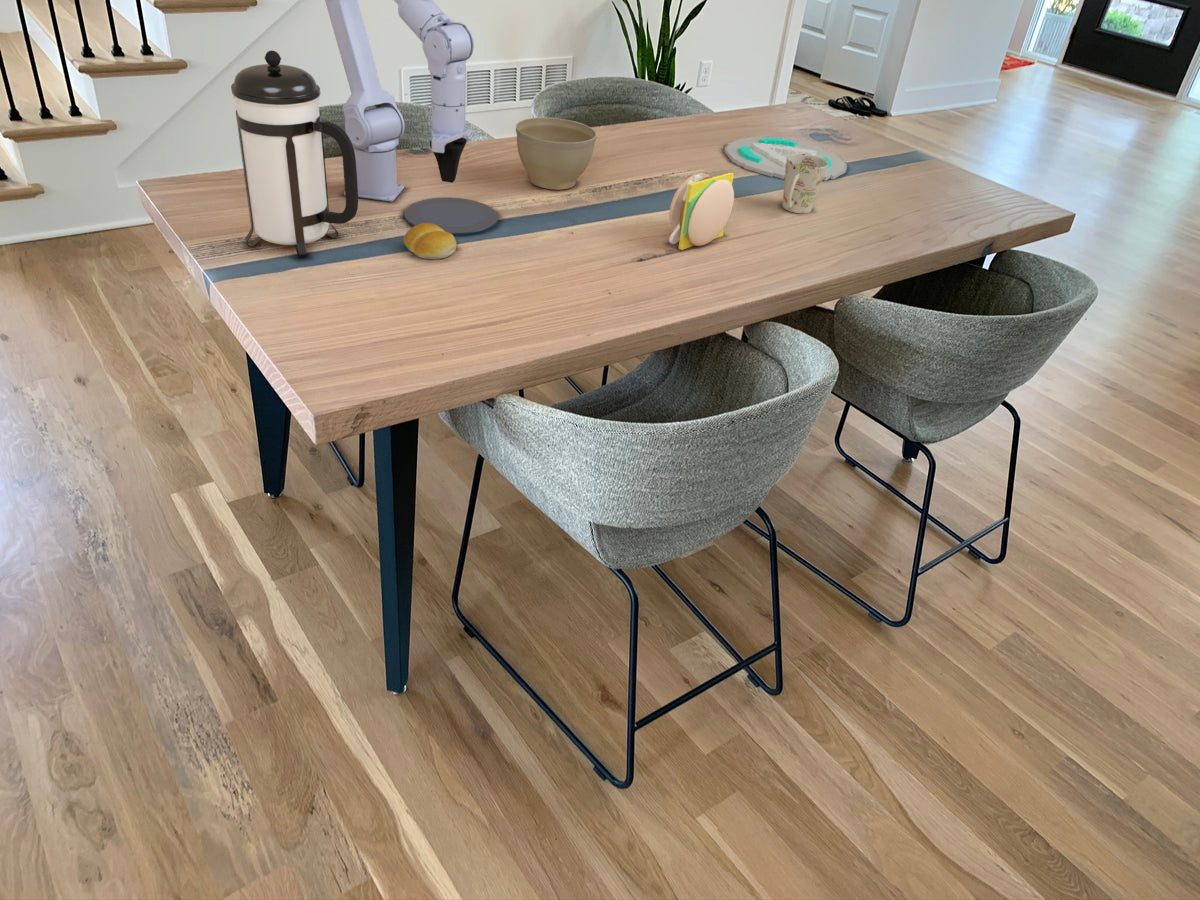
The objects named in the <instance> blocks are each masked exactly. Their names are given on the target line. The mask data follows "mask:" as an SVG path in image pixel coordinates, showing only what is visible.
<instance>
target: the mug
mask: <svg viewBox="0 0 1200 900" xmlns="http://www.w3.org/2000/svg"><path fill="white" fill-rule="evenodd" d="M827 167H828V162H827V161H826V160H824V159H822V158H820V157H817V156H813V155H808V154H791V155H789V156H788V157H787V160H786V170H785V178H784V183H783V184H784V185H783V194H782V203H781V204H782V205H781V206H782V208H783V209H784V210H786V211H788V212H791V213H795V214H809V213H811V211H812V209H813V207H814V204H815V202H816V199H817V196H818V194H819V192H820V189H821V186H822V183H823V181H824V180H823V178H824V175H825V173H826V170H827Z"/></svg>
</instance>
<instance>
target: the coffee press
mask: <svg viewBox="0 0 1200 900" xmlns="http://www.w3.org/2000/svg"><path fill="white" fill-rule="evenodd" d="M264 60H265V62H266V63H264V64H256V65H255V64H254V65H251V66H247V67H245V68H243V69H241V70H240V71H239V72H238V73H236V74H235V75H236V76H234V81H233V83H232V84H231V86H230V91H231V94H232V95H231V96H232V98H233V99H234V100H235V105H236V110H235V118H236V123H237V124H236V125H237V133H238V140H239V147H240V154H241V162H242V163H241V164H242V170H243V177H244V183H245V190H246V198H247V206H248V214H249V223H250V229H249V231H248V233H247V235H246V236H245V238H244V240H245V242H246V245H247V246H248V247H249V248H253V247H255V246H256V245H258V244H259V242H261V241H266V242H268V243H272V244H275V245H281V246H294V247H295V251H296V254H297V258H298V259H301V258H302V259H303V258H307V257H308V250H307V246H306V245H307V244H311V243H313V242H317V241H318V240H320V239H321V238H324V236H325V235H326V236H328V237H329V238H331V239H336V238H337V237H338V236H339V232H338V230H337V228H336V227H335V226H334V225H343V224H347V223H349V222H350V221H351V220H353V219H354V218H355V216H356V214H357V212H358V209H359V197H358V184H357V169H356V159H355V152H354V148H353V145H352V142H351V140H350V138H349V137H348V135H347V134H346V131H345V129H343V128H342V127H340V125H338V124H335V123H333V122H330V121H328V120H327V121H322V112H321V110H320V102H319V99H320V96H321V87H320V85H318V84H317V83H316V80H315V78H314V77H313V76H312V75H311V73H309V72H307V71H306V70H304V69H302V68H299V67H296V66H292V65H287V64H281V60H282V57H281V55H280V54H279V52H277V51H275V50H268V51H267V52H266V54H265V55H264ZM324 135H326V136H329V137H331V138H332V139H333V140H334V141H335V142H336V143H337V145H338V146H339V148H340V152H341V156H342V157H341V158H342V169H344V171H343V181H344V182H345V184H344V192H345V195H344V196H345V197H344V198H345V206H344V210H343V211H342V212H335V211H330V206H329V195H328V181H327V171H326V157H325V147H324ZM330 226H331V228H332V229H333V230H334V233H333V234H331V233H328V231H329V227H330ZM254 233H255V234H256V235H257V237H256V238H255V239H254V240H253V241H252V242H249V240H250V238H251V237H252V235H253V234H254Z"/></svg>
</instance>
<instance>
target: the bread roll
mask: <svg viewBox="0 0 1200 900" xmlns="http://www.w3.org/2000/svg"><path fill="white" fill-rule="evenodd" d="M403 244H404V246H405V247H406V249H407V250H408V251H409V252H411V253H413V254H414V255H415V256H416V257H418V258H421V259H425V260H439V259H441V260H442V259H445V258H448V257H450V256H452V255H453V254H454V253H455V251H456V249H457V240H456V236H453V235H452V234H450V233H448V232H445V231H444V230H443V229H442V228H440V227H439V226H437V225H435V224H431V223H421V224H418V225H415V226H412V227H410V228H409V229H408V230H407V231H406V232H405V234H404V235H403Z"/></svg>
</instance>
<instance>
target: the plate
mask: <svg viewBox="0 0 1200 900" xmlns="http://www.w3.org/2000/svg"><path fill="white" fill-rule="evenodd" d="M404 219H405V221H406V222H407V224H409V225H410V226H412V227H413V226H415V225H418V224H421V223H431V224H435V225H437V226H439V227H440V228H442V229H443V230H444V231H445V232H448V233H450V234H452V235H453V236H454V237H456V236H458V237H459V236H461V237H462V236H472V235H477V234H481V233H485V232H487V231H490V230H491V229H493V228H494V227H495V226H496V225H497V224H498V222H499V215H498V213H497V211H496V209H495V210H494V208H492V207H491V206H489V205H487V204H485V203H483V202H479V201H476V200H472V199H468V198H460V197H434V198H433V197H432V198H426V199H422V200H419V201H415V202H414V203H412V204H410V205H409V206H407V207H406V209H405V210H404Z"/></svg>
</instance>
